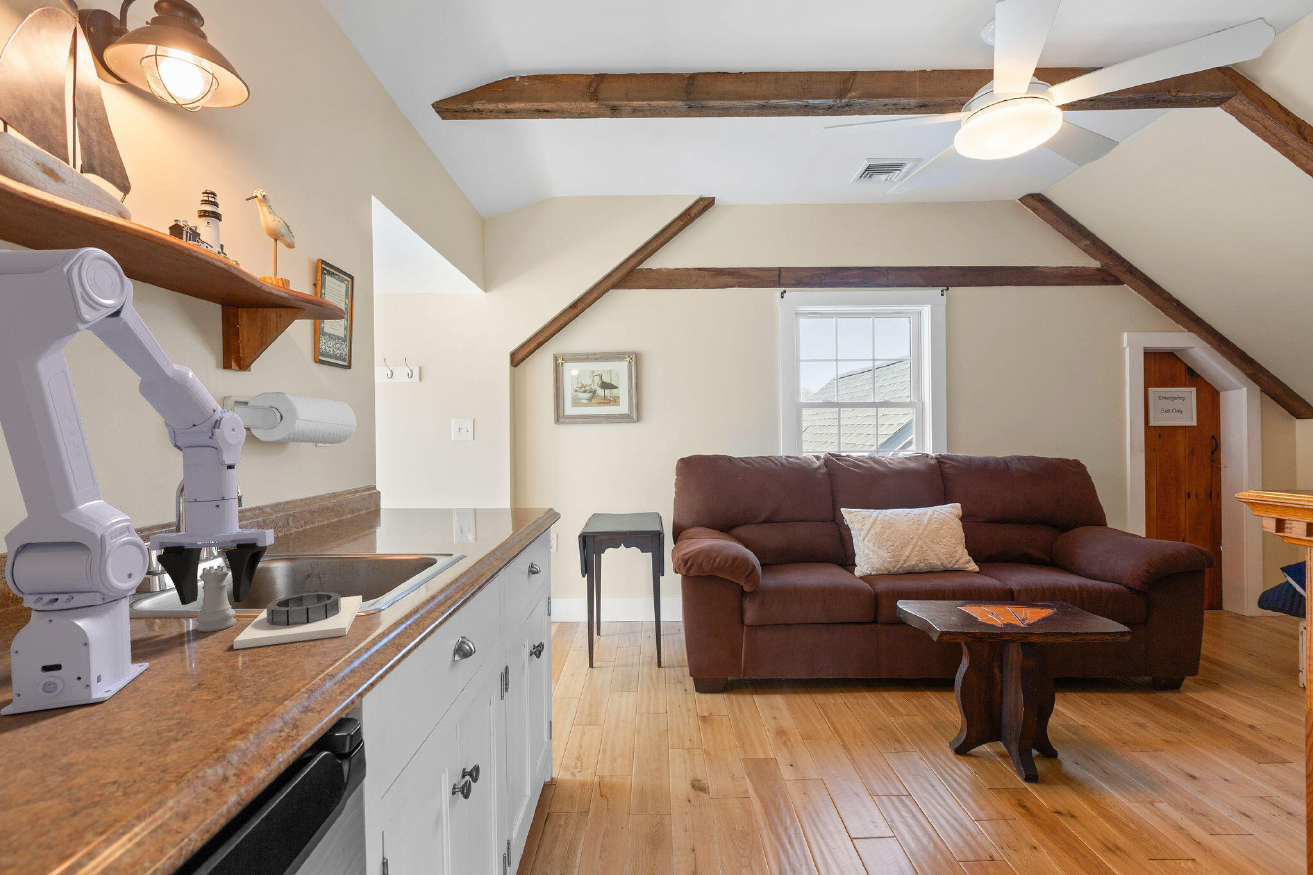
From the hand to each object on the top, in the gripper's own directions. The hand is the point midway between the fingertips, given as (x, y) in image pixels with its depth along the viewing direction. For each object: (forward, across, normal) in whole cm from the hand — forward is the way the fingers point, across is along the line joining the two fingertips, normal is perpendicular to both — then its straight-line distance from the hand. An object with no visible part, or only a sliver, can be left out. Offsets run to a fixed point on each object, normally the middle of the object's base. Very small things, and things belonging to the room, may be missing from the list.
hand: (215, 601), depth 82 cm
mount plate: (+3, -11, 0) cm, 12 cm away
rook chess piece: (+4, 0, 0) cm, 4 cm away
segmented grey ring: (+3, -11, 0) cm, 12 cm away
